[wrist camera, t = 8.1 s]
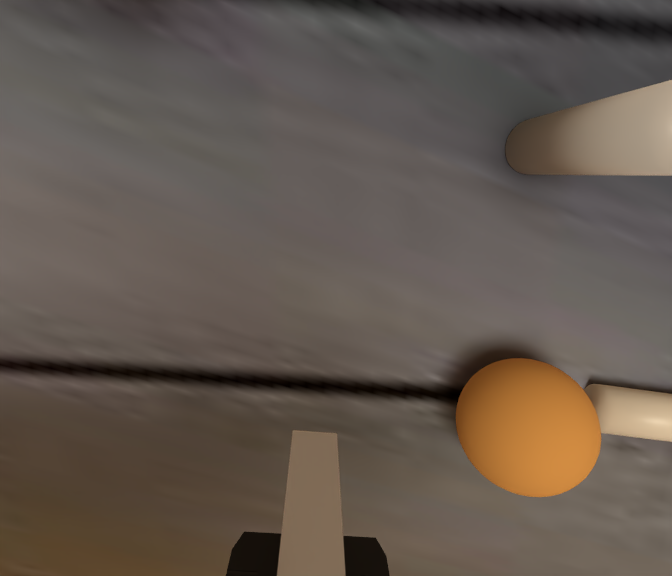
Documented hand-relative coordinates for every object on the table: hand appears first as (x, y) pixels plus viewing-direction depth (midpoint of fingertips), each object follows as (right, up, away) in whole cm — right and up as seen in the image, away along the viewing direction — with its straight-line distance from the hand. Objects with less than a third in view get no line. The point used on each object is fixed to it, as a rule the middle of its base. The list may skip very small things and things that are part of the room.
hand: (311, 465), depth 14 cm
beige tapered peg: (+10, +12, +4) cm, 16 cm away
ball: (+9, 0, +5) cm, 11 cm away
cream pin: (+14, 0, +7) cm, 16 cm away
